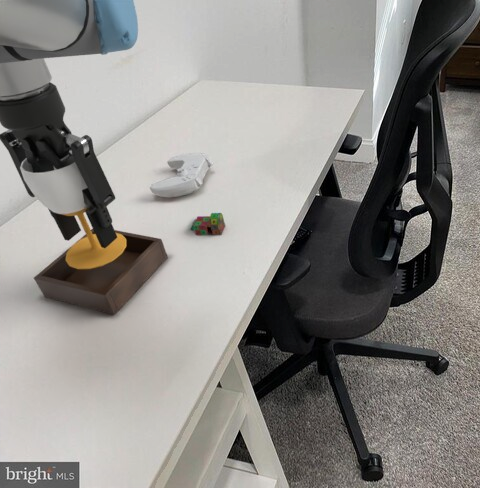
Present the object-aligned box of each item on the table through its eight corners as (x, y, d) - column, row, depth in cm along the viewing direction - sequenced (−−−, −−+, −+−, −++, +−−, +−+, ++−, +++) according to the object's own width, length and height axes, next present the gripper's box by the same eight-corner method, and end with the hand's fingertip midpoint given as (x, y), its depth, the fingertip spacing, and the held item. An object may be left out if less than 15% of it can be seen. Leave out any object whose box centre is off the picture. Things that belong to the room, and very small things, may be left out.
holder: (114, 315, 71) (105, 295, 68) (44, 297, 75) (33, 277, 72) (168, 257, 81) (161, 238, 78) (103, 244, 85) (95, 226, 82)
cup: (138, 236, 77) (103, 144, 67) (104, 273, 70) (59, 177, 60) (90, 230, 79) (49, 140, 69) (52, 265, 72) (1, 172, 62)
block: (226, 221, 88) (223, 205, 86) (221, 234, 85) (217, 218, 83) (195, 221, 88) (190, 205, 86) (188, 234, 85) (183, 219, 83)
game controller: (168, 152, 104) (210, 142, 102) (177, 170, 107) (218, 160, 104) (143, 188, 93) (189, 177, 91) (154, 206, 95) (199, 196, 93)
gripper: (105, 82, 58) (158, 234, 73) (-10, 74, 64) (60, 215, 79) (59, 107, 53) (126, 265, 67) (-62, 95, 59) (24, 243, 73)
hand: (91, 238), depth 73 cm, fingers closed on cup, 6 cm apart
